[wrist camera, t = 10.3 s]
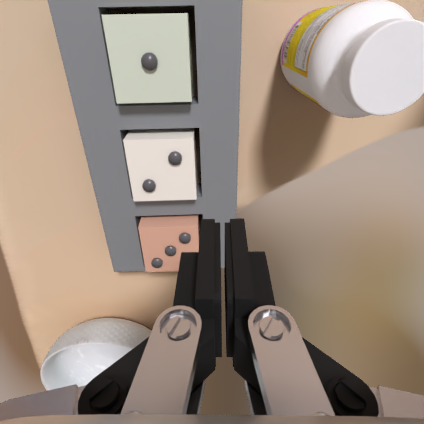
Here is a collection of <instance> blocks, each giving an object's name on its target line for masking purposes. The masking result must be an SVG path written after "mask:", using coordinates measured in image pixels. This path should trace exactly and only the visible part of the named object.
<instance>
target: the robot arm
mask: <svg viewBox="0 0 424 424" xmlns="http://www.w3.org/2000/svg"><path fill="white" fill-rule="evenodd" d="M225 311H226V349H227V357H233V367H234V370H235V371H236V372H237V373H239V375H241V376H242V377H243V378H244V383H245V389H246V393H247V398H248V402H249V407H250V412H251V415H200V409H201V404H202V398H203V392H204V387H205V379H206V378H207V377H208V376H209V375H210V374H211V373H212V372H213V371H214V370H215V366H216V364H215V363H216V362H215V361H216V359H215V358H216V357H222V349H221V348H222V342H221V340H222V339H221V336H222V334H221V240H220V222H217V223H215V219H201V226H200V239H199V252H182V253H181V257H180V263H179V270H178V277H177V283H176V290H175V297H174V303H173V307H170V308H168V309H166V310H164V311H163V312H162V313H161V314H160V315H159V316H158V318H157V319H156V321H155V323H154V326H153V329H152V331H151V334H150V336H149V337H148V338H147V339H145V340H144V341H143V342H141V343H140V344H139V345H137V346H136V347H135V348H133V349H132V350H131V351H129V352H128V353H127V354H125V355H124V356H123V357H121V358H120V359H119V360H117V361H116V362H115V363H113V364H112V365H111V366H109V367H108V368H107V369H105V370H104V371H103V372H101V373H100V374H99V375H97V376H96V377H95V378H93V379H92V380H91V381H90V382H89V383H88V384H87V385H85V386H81V387H78V386H77V384H75V385H70V386H66V387H61V388H57V389H53V390H48V391H44V392H40V393H35V394H31V395H26V396H22V397H18V398H13V399H9V400H7V401H4V402H2V403H0V424H424V396H423V395H418V394H414V393H409V392H405V391H401V390H397V389H392V388H388V387H384V386H378V387H377V388H372V387H369V386H367V384H365V383H364V382H363V381H362V380H361V379H360V378H358V377H357V376H355V375H354V374H353V373H351V372H350V371H348V370H347V369H346V368H344V367H343V366H342V365H340V364H339V363H337V362H336V361H334V360H333V359H332V358H330V357H329V356H328V355H326V354H325V353H323V352H322V351H321V350H319V349H318V348H316V347H315V346H314V345H312V344H311V343H310V342H308V341H307V340H305V339H304V338H303V337H301V334H300V332H299V329H298V327H297V325H296V323H295V320H294V319H293V317H292V316H291V315H290V314H289V313H288V312H287V311H286V310H284V309H282V308H280V307H276V306H275V301H274V296H273V291H272V286H271V281H270V275H269V270H268V265H267V260H266V255H265V252H248V247H247V239H246V231H245V223H244V219H230V222H225Z"/></svg>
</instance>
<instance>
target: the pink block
mask: <svg viewBox="0 0 424 424" xmlns="http://www.w3.org/2000/svg"><path fill="white" fill-rule="evenodd" d="M138 229H139V235H140V241H141V247H142V252H143V258H144V264H145V270H146V272H166V271H178V270H179V263H180V257H181V253H182V252H199V239H200V232H199V214H189V215H157V216H142V217H141V220H140V223H139V226H138Z"/></svg>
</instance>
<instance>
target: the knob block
mask: <svg viewBox="0 0 424 424" xmlns="http://www.w3.org/2000/svg"><path fill="white" fill-rule="evenodd" d="M102 21H103V27H104V32H105V38H106V44H107V50H108V55H109V61H110V67H111V73H112V79H113V84H114V90H115V96H116V102H117V104H122V103H163V102H192V95H193V84H192V63H191V42H190V21H189V14H188V13H163V14H113V15H102Z"/></svg>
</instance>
